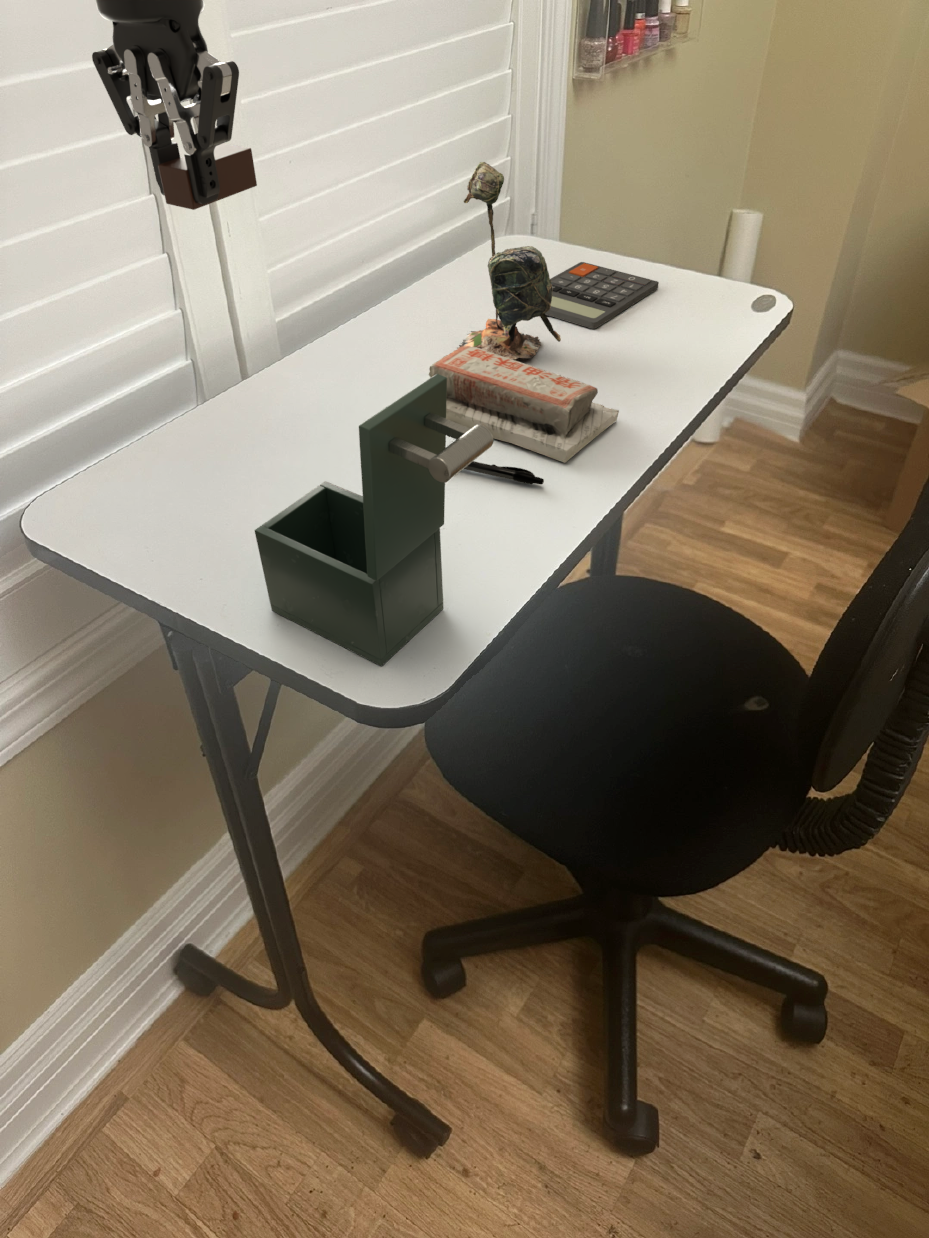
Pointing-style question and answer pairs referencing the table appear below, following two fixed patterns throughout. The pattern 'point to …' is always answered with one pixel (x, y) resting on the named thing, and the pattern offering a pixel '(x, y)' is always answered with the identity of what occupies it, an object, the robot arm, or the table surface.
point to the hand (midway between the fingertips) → (190, 196)
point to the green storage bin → (346, 576)
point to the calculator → (595, 294)
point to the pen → (505, 472)
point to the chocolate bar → (231, 171)
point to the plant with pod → (510, 283)
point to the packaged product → (521, 402)
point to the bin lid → (411, 471)
